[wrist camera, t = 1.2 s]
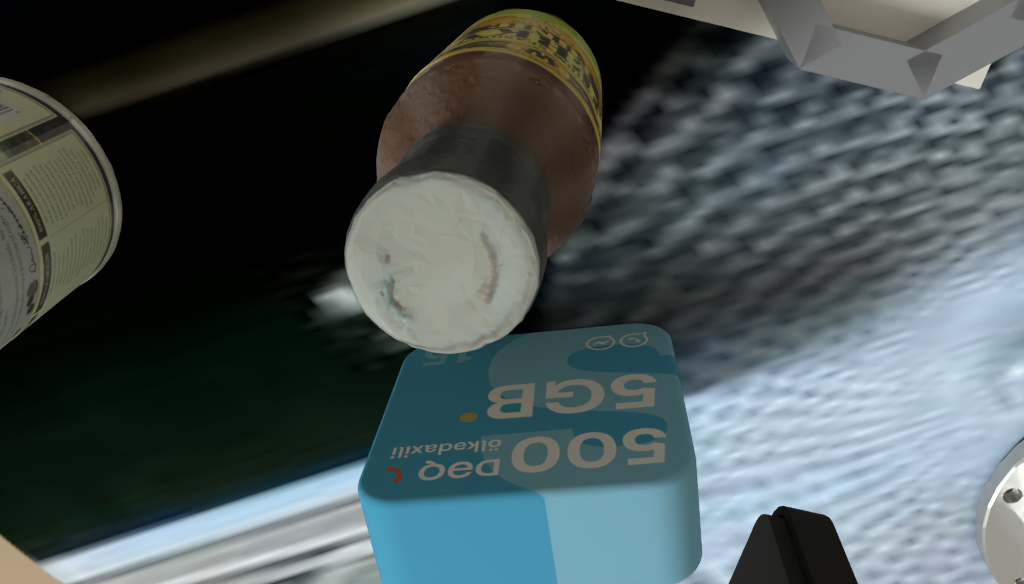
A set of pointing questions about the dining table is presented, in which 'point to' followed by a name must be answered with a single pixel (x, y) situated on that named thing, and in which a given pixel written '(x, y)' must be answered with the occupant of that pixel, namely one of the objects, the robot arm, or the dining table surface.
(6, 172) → the coffee can
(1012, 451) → the robot arm
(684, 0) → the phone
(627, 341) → the data package
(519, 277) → the sauce bottle
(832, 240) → the dining table surface
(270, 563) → the dining table surface
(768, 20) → the grey shallow tray
